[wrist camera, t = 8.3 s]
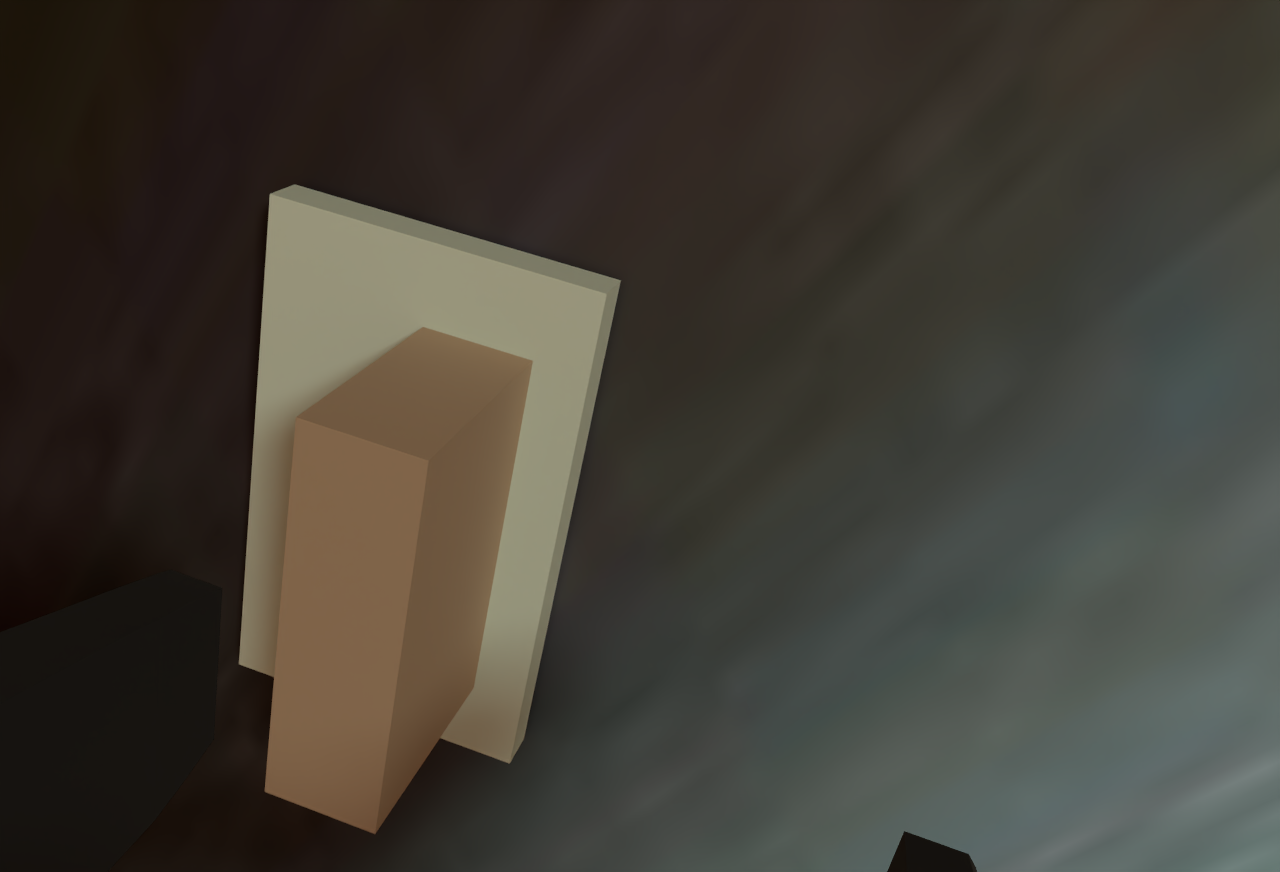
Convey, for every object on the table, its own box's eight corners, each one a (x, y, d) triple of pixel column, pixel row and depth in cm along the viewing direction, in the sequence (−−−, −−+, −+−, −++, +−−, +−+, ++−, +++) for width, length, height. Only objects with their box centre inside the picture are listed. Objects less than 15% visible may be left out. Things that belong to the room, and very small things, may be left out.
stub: (524, 738, 24) (420, 919, 19) (260, 642, 25) (105, 796, 20) (620, 280, 19) (514, 383, 15) (294, 184, 20) (105, 255, 16)
